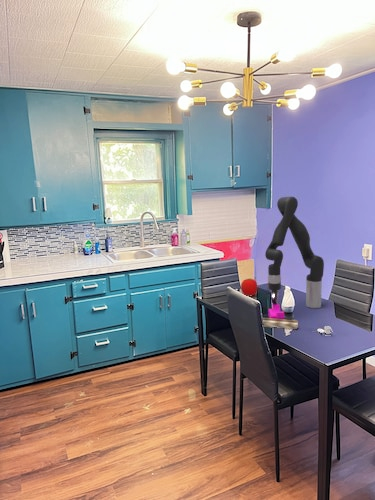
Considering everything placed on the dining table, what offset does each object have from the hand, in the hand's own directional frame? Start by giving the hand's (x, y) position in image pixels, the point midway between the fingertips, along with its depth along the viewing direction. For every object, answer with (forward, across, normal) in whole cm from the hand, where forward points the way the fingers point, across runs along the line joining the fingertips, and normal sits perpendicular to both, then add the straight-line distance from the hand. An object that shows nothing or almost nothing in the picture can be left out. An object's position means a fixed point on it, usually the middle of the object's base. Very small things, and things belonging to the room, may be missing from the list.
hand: (274, 308), depth 228 cm
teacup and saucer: (+4, -20, -30) cm, 36 cm away
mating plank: (+3, -20, -5) cm, 21 cm away
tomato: (+4, +32, +22) cm, 39 cm away
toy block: (+4, -10, -2) cm, 11 cm away
